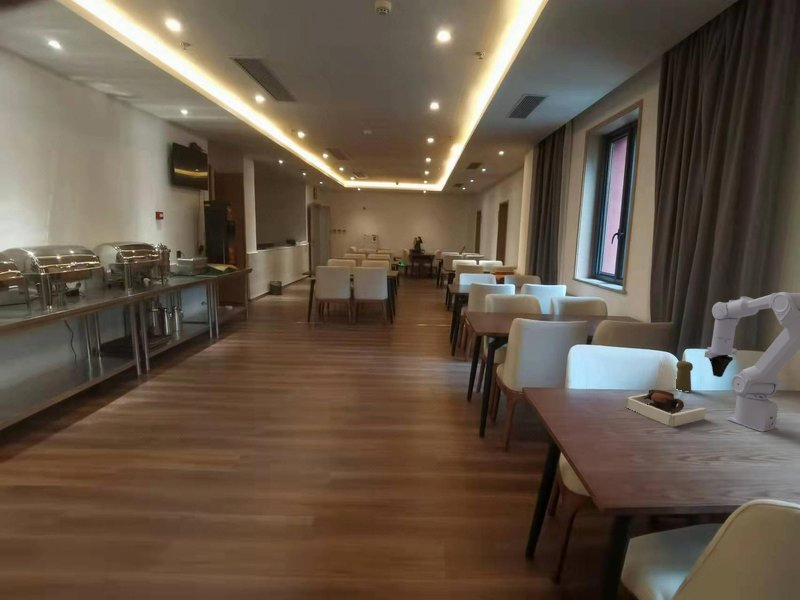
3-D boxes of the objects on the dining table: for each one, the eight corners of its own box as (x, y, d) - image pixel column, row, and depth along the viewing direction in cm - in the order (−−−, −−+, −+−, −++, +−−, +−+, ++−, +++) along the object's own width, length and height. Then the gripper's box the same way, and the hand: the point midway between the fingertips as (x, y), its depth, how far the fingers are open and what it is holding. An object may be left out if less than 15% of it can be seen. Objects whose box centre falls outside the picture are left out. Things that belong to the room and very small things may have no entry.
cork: (675, 391, 158) (678, 362, 157) (670, 385, 164) (673, 358, 162) (693, 393, 156) (697, 364, 155) (687, 387, 162) (691, 360, 161)
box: (704, 419, 132) (705, 408, 132) (671, 426, 126) (673, 415, 125) (656, 401, 147) (657, 391, 146) (624, 407, 140) (625, 397, 140)
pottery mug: (637, 411, 139) (640, 387, 141) (652, 419, 143) (655, 396, 145) (676, 415, 128) (678, 389, 131) (691, 423, 132) (693, 398, 135)
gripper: (723, 333, 148) (717, 370, 150) (697, 336, 142) (692, 374, 144) (746, 338, 141) (739, 376, 143) (720, 341, 135) (714, 381, 138)
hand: (717, 376), depth 143 cm, fingers closed
